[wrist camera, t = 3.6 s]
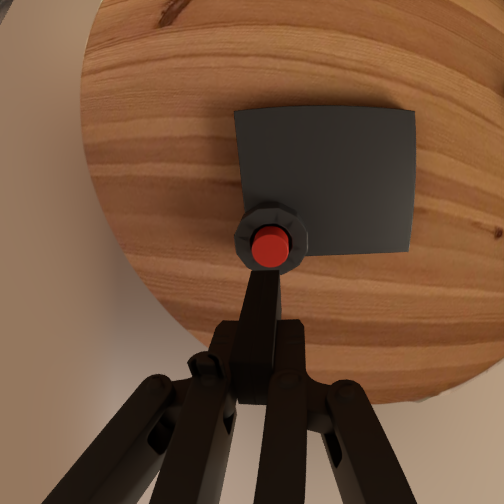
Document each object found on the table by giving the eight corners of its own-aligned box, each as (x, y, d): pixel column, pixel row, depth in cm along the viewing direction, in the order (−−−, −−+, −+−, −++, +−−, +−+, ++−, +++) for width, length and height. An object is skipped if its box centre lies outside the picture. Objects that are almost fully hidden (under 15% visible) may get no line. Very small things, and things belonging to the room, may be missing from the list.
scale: (244, 259, 25) (239, 276, 22) (227, 113, 19) (218, 111, 17) (402, 252, 23) (414, 268, 20) (408, 111, 17) (424, 110, 15)
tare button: (255, 257, 22) (253, 268, 20) (252, 226, 21) (249, 235, 19) (289, 256, 21) (289, 267, 20) (287, 224, 20) (287, 233, 19)
